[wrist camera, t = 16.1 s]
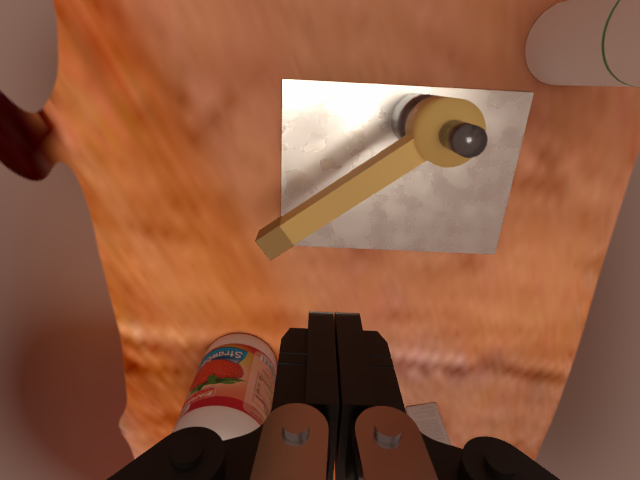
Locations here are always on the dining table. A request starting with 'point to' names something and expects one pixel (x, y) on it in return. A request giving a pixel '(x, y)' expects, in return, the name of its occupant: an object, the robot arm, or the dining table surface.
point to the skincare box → (429, 421)
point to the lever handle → (374, 172)
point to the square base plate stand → (417, 185)
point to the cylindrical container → (586, 44)
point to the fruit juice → (231, 387)
